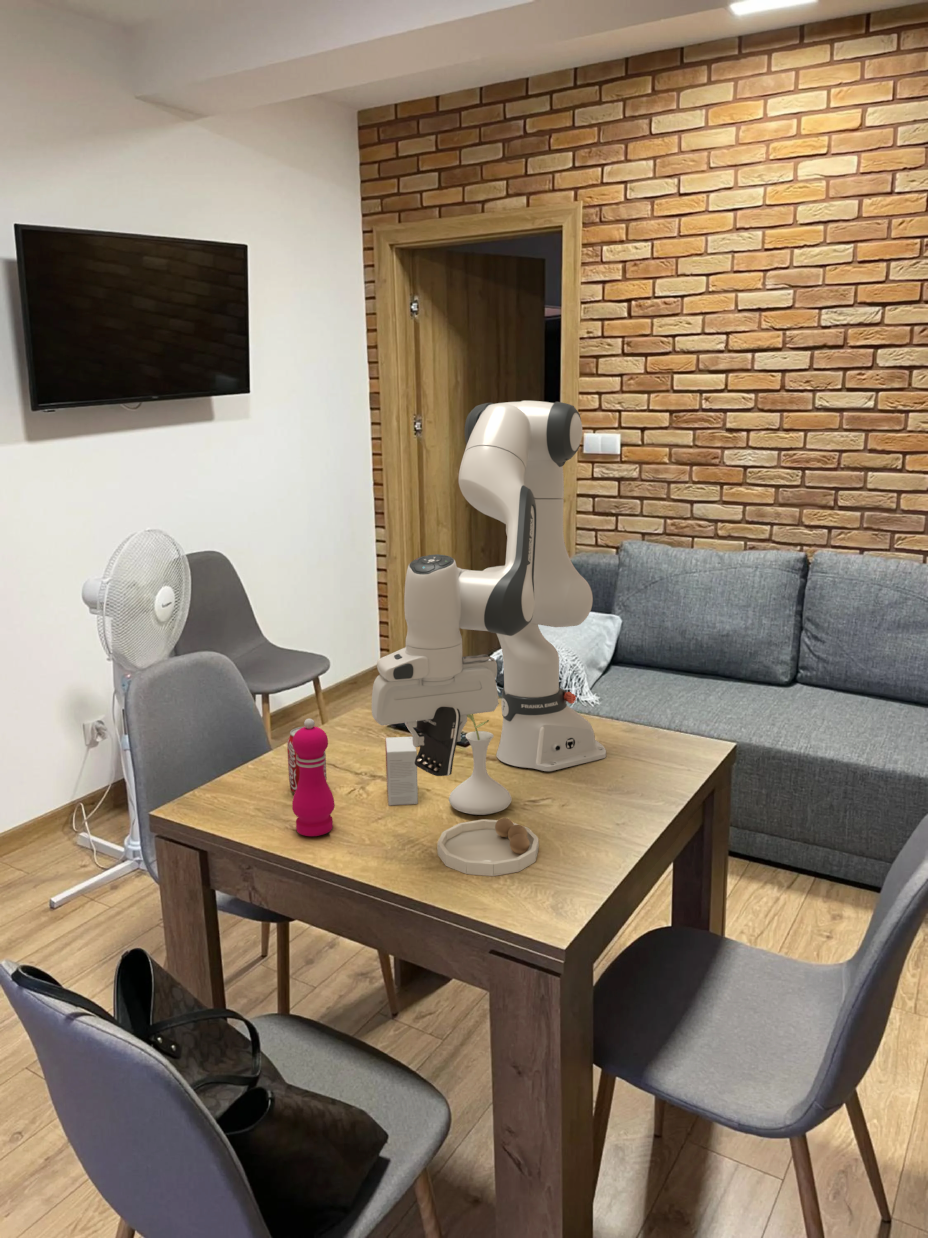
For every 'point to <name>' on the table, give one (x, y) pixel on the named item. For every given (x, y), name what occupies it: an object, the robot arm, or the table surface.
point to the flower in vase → (479, 781)
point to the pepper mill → (312, 782)
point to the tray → (483, 849)
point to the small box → (401, 771)
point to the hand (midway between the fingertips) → (436, 743)
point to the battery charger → (439, 741)
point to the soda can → (292, 764)
